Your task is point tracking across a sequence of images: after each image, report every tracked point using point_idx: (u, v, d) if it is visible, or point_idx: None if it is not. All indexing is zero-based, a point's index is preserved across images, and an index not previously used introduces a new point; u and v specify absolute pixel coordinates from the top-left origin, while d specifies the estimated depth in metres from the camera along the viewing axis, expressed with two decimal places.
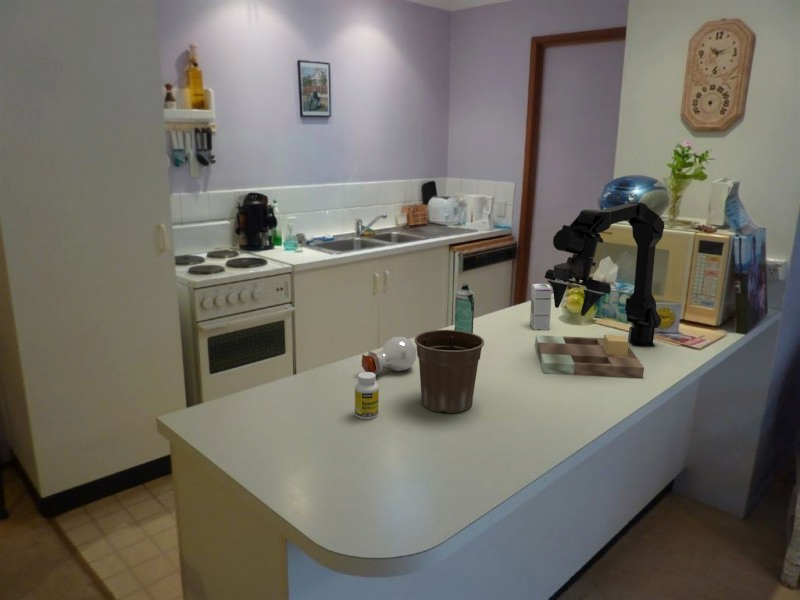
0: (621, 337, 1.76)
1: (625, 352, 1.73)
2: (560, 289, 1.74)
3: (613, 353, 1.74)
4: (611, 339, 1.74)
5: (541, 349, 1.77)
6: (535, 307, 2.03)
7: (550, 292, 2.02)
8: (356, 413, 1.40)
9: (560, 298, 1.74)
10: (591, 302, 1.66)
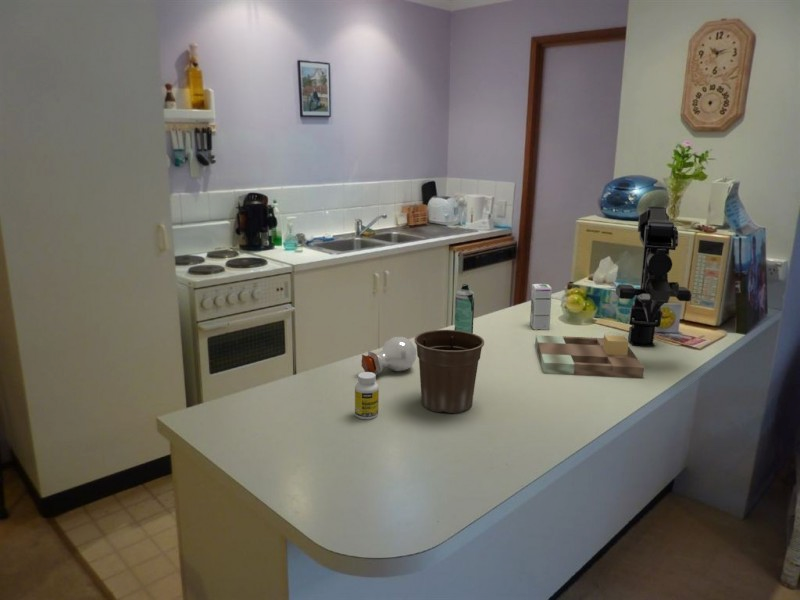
0: (621, 337, 1.76)
1: (625, 352, 1.73)
2: None
3: (613, 353, 1.74)
4: (611, 339, 1.74)
5: (541, 349, 1.77)
6: (535, 307, 2.03)
7: (550, 292, 2.02)
8: (356, 413, 1.40)
9: None
10: None
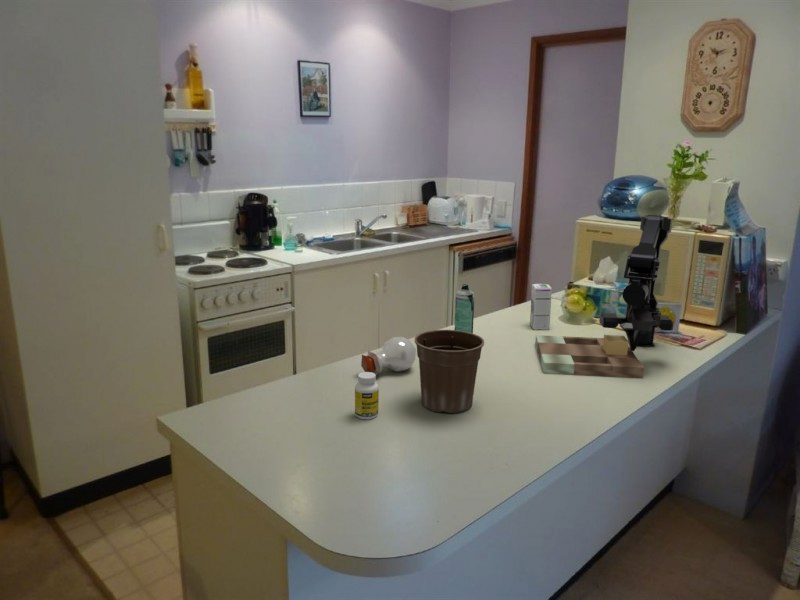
0: (621, 337, 1.76)
1: (625, 352, 1.73)
2: None
3: (613, 353, 1.74)
4: (611, 339, 1.74)
5: (541, 349, 1.77)
6: (535, 307, 2.03)
7: (550, 292, 2.02)
8: (356, 413, 1.40)
9: None
10: None
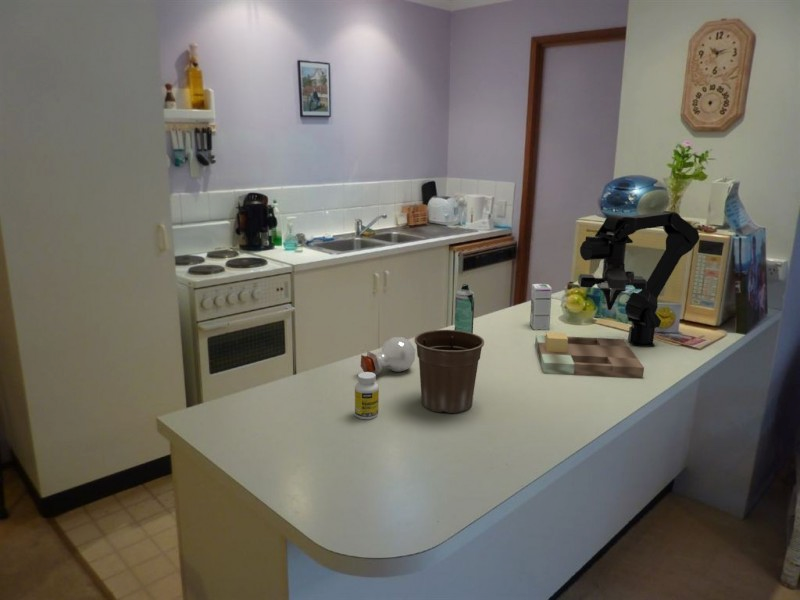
0: (562, 334, 1.78)
1: (565, 349, 1.75)
2: None
3: (553, 350, 1.75)
4: (551, 337, 1.76)
5: (541, 349, 1.77)
6: (535, 307, 2.03)
7: (550, 292, 2.02)
8: (356, 413, 1.40)
9: None
10: None
